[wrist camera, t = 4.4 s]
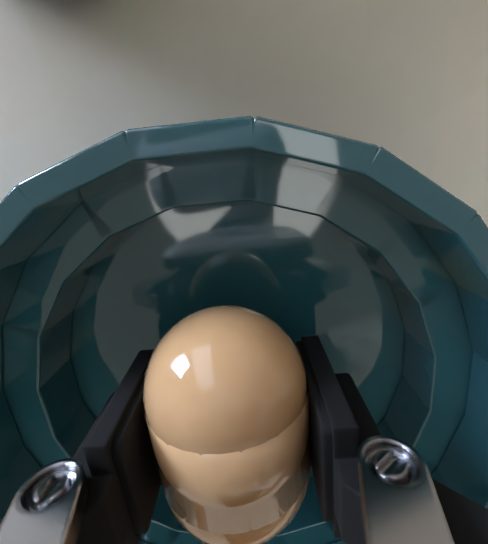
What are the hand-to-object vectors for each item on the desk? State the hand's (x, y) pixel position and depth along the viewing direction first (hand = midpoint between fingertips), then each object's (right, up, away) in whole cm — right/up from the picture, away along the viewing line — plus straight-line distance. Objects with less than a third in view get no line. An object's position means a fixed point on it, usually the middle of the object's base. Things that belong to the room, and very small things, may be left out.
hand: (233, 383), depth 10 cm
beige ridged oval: (0, 0, +1) cm, 1 cm away
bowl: (0, 0, +2) cm, 2 cm away
